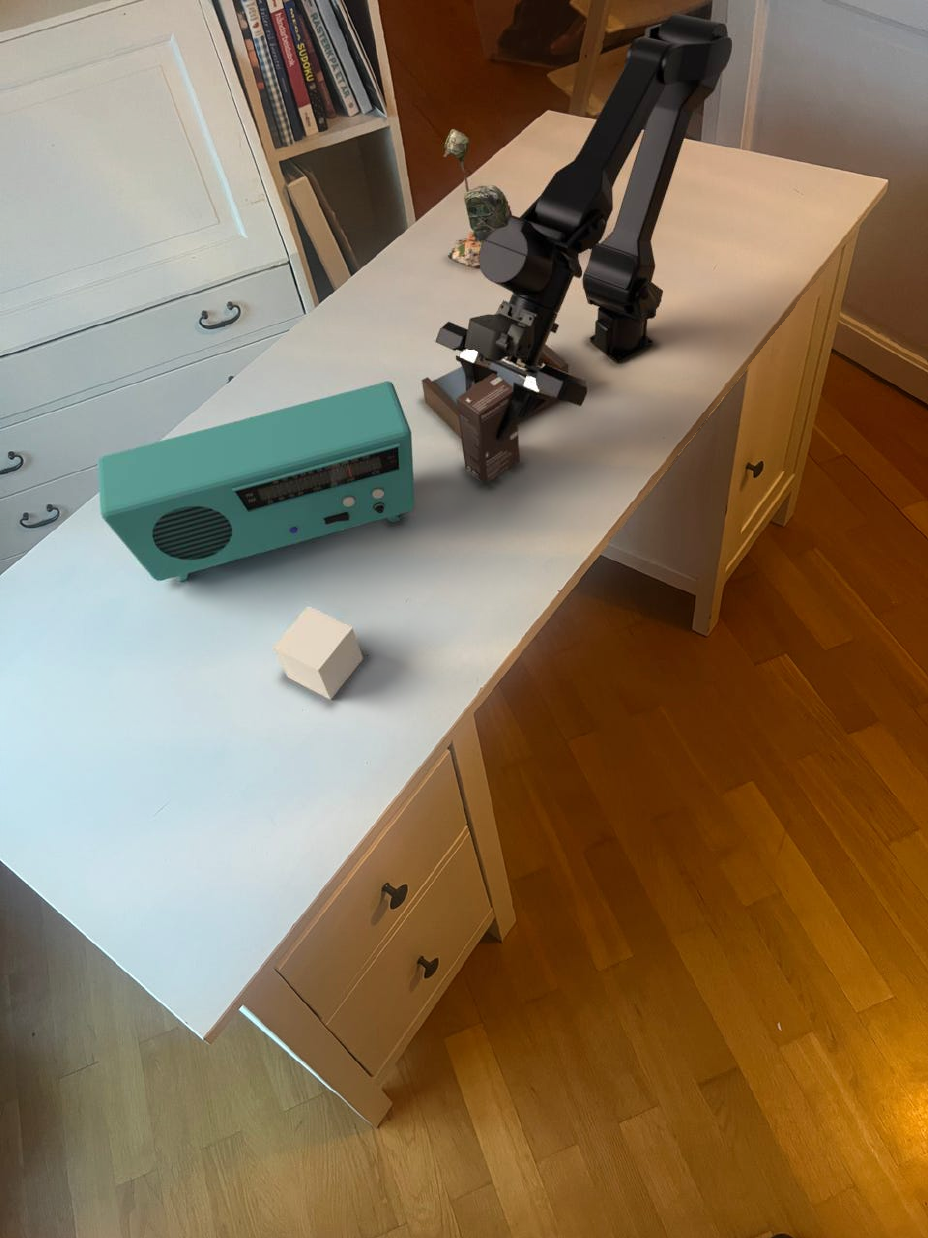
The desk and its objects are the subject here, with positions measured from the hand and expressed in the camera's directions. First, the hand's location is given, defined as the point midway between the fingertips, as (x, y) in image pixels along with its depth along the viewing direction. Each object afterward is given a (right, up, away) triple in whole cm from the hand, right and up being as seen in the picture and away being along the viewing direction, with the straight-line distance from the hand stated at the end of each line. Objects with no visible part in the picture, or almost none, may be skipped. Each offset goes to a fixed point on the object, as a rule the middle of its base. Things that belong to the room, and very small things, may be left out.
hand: (482, 432), depth 106 cm
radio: (-24, -12, +3) cm, 27 cm away
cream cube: (-17, -28, -9) cm, 34 cm away
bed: (+2, +7, +13) cm, 16 cm away
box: (+2, -3, +6) cm, 7 cm away
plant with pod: (+1, +34, +33) cm, 48 cm away
